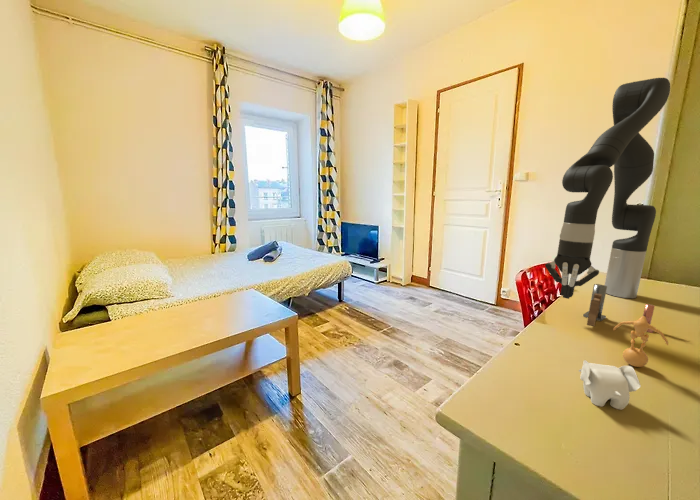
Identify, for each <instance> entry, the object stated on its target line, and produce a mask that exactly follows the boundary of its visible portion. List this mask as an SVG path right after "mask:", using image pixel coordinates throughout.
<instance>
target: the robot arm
mask: <svg viewBox="0 0 700 500" xmlns="http://www.w3.org/2000/svg"><path fill="white" fill-rule="evenodd" d="M670 93H671V83H670V80H669V79H668V78H666V77H654V78H649V79H644V80H637V81H632V82H626V83H623V84H620V85H619V86H618V87H617V88H616V90H615V93H614V94H613V99H612V119H613V120H612V121H613V125H612V126H611V127H609V128H607V130H605V131H604V132H603V133H601V134H600V135H599V136H598V137H597V139H596V140H595V141H594V143H592V146H591V147H590V149H589V150H588V152H586V153H585V154H584V155H583V156H581V157H580V158H579V159H578V160H576V161H575V162H574V163H573V164H572V165H571V166H570V167H568V169H567V170H566V171H565V173H564V175H563V177H562V179H561V181H562V182H561V183H562V188H563V189H564V190H565V191H566V192H569V193H586V195H585V197H584V198H583V199H581V200H575V201H570V202H568V203H567V204H566V207H565V211H564V212H565V213H564V217H563V218H564V219H563V224H562V227H561V230H560V234H559V242H558V247H557V252H556V256H555V257H554V259H553V260H552V261H550V262H547V263H545V265H544V267H545V269H546V270H547V271H548V273H549V275H550V276H551V277H552V279H553V280H554V281H555V282H556V283H559V284H561V290H560V295H561V296H562V298H563V299H568V300H569V299H570V298H572V297H573V296H574V292H575V287H582V286H583V285H585V284H587V282H589V281H591V280H592V279H594V278H595V277H597V276H598V275H599V274H600V270H599V269H596V268H594V267H593V266H592V262H591V261H592V260H591V255H592V251H593V250H592V249H593V246H594V245H593V244H594V240H595V235H596V234H595V233H596V221H597V215H598V211H599V208H600V206H601V204H602V202H603V200H604V197H605V195H606V194H607V192H608V190H609V188H610V187H611V184H612V182H614V184H613V185H614V195H613V205H612V214H611V224H612V227H613V228H614V229H616V230H621V231H629V232H630V231H632V232H636V234H634V235H632V236H629V237H626V238H619V239H615V240H613V241H612V245H611V249H610V250H611V251H610V255H609V256H610V257H609V259H608V266H607V270H606V276H605V281H604V285H605V286H607V289H606V294H608V295H610V296H614V297H618V298H624V299H636V298H637V297H638V296H637V295H638V292H639V287H640V281H641V277H642V273H643V269H644V264H645V261H646V260H645V259H646V255H647V254H646V253H647V250H648V245H649V242H650V236H651V233H652V229H653V226H654V223H655V219H656V216H657V215H656V214H657V210H656V209H657V208H656V207H655V206H654V205H651V204H649V205H648V204H628V203H627V201H628V199H630V197H631V196H632V195H633V193H634V192H635V191H636V190H638V189H639V188H640V187H641V186H642V185H643V184H644V183H645V182H647V180H648V179H649V178H650V177H651V176H652V174H653V172H654V164H655V163H654V162H655V152H654V149H653V147H652V146H651V144H650V143H649V142H648V141H647V140H646V139H645V138H644V136H642V135H641V134H640V132H641V131H642V130H643V129H644V128H645V127H646V126H647V125H648V124H649V123H650V122H651V121H652V120H653V119H654V118H655V117H656V116H657V115H658V113H660V112H661V110H662V109H663V108H664V107H665V104H666V103H667V101H668V99H669V97H670ZM611 167H613V171H612V169H611ZM613 177H614V178H613ZM613 180H614V181H613ZM556 267H557V268H558V270H559V271H560V272H561V275H559V273H558V271H557V270H556ZM585 271H586V275H585V276H584V277H582V278H581V279H580V280H578V276H579V275H581V274H583V273H584V272H585ZM569 278H570V279H569Z"/></svg>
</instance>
